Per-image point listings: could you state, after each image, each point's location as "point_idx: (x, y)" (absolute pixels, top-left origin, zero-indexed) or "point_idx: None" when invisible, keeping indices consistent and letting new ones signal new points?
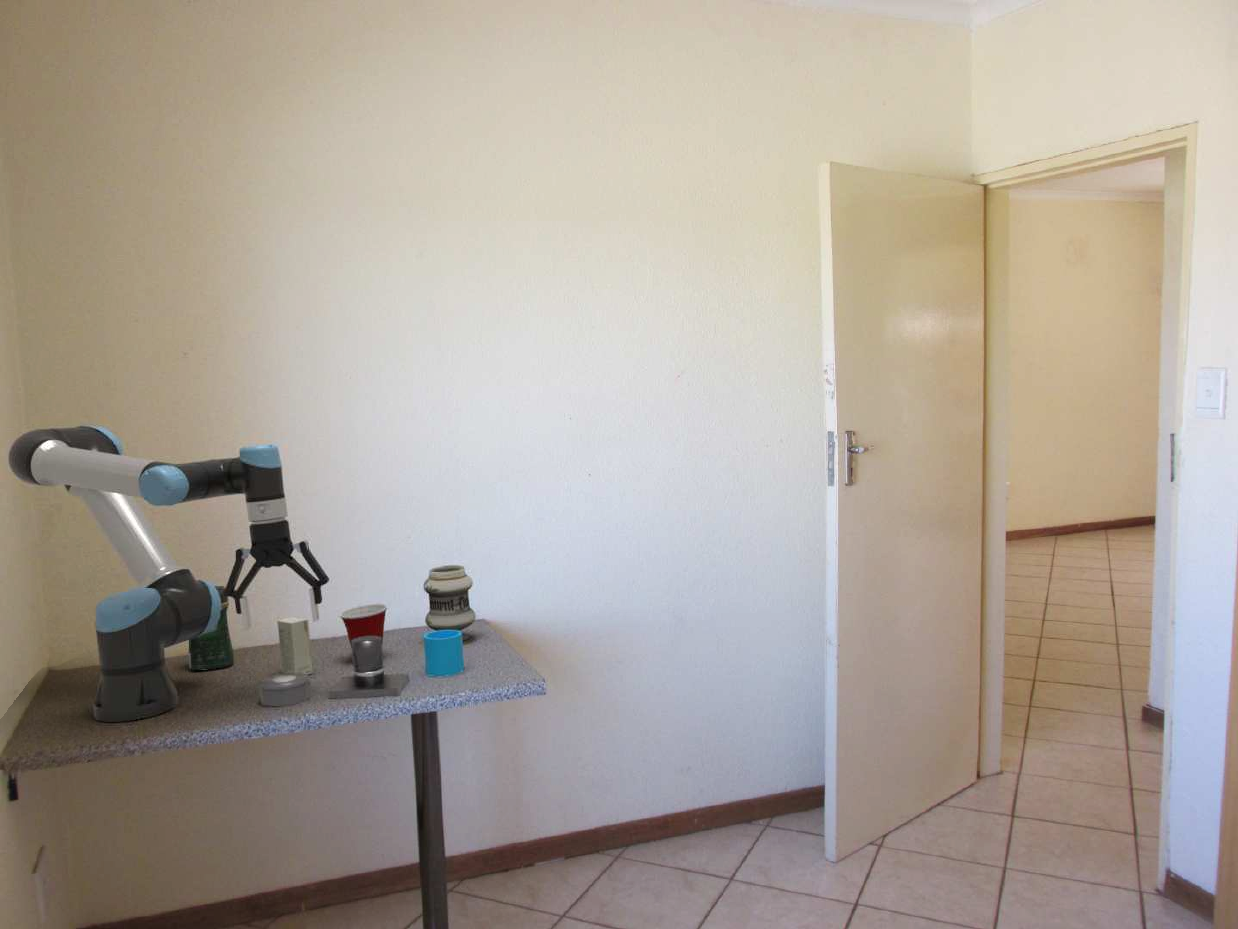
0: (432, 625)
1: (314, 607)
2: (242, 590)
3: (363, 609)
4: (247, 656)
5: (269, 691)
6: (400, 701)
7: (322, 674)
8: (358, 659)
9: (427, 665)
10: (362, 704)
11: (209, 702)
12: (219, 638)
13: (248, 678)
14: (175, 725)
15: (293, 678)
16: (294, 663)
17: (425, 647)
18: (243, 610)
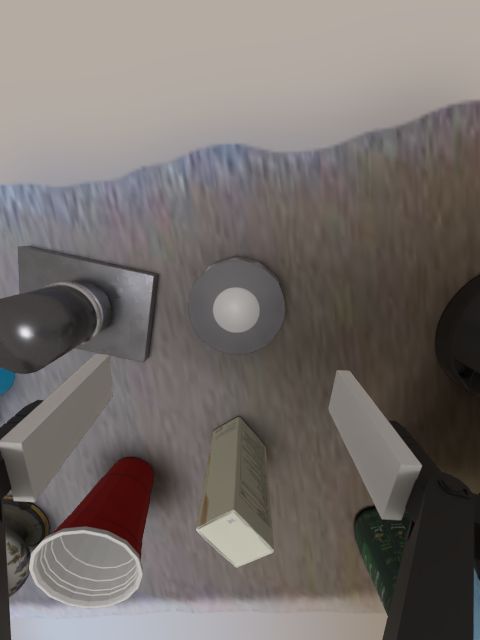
0: (9, 539)
1: (66, 382)
2: (430, 513)
3: (101, 593)
4: (334, 555)
5: (262, 266)
6: (15, 207)
7: (196, 422)
8: (58, 296)
9: None
10: (85, 214)
11: (378, 331)
12: (396, 566)
13: (321, 444)
14: (434, 202)
15: (216, 304)
16: (238, 434)
17: None
18: (376, 417)
